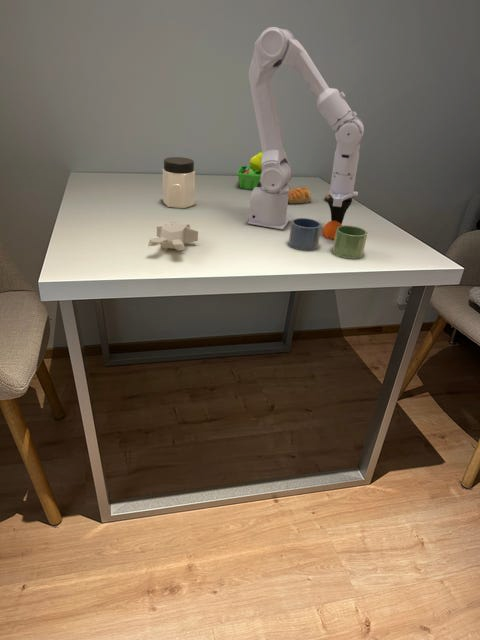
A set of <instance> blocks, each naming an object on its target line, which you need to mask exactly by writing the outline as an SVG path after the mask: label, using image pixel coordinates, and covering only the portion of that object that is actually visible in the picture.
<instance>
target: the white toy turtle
mask: <svg viewBox="0 0 480 640" xmlns="http://www.w3.org/2000/svg"><path fill="white" fill-rule="evenodd" d="M198 240H199V231H198V230H195V229H193V228H191V226H190V224H189V223H180V222H174V221H173V222H172V221H170V224H164V225H161V226H157V227H156V237H154V238H151V239H149V241H148V243H147V246H148V247H156V246H158V245H160V247H161V248H163V250H165V251H168V250H169V249H171V250H172V249H173V250H175V251H176V252H180V251H184V250H186V247H185V245H187V244H191V243H195V242H198Z"/></svg>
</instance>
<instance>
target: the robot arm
mask: <svg viewBox="0 0 480 640" xmlns="http://www.w3.org/2000/svg"><path fill="white" fill-rule="evenodd" d="M281 65H285V66H288V67H289V68H290V67H291V68H293V69H295V70H296V71H297V73H298V74H299V76H301V78H302V80H303V81H304V82H305V84H306V85H307V86H308V87H309V89H310V90H311V91H312V93H313V94H314V96H315V97H316V99H317V100H316V108H317V110H318V112H319V113H320V114H321V115H322V117H323V118H324V120H325V122H326V123H327V125H328V126H329V127H330V129H331V130H333V131H334V132H335V133H334V136H335V140H336V147H335V151H334V157H333V164H332V171H331V179H330V185H329V188H328V195H329V194H330V195H331V197H330V198H329V199H328V201H327V204H328V207H329V210H330V211H329V212H330V221H338V222H339V223H341V225H343V221H344V218H345V215H346V213H347V210H348V209H349V207H350V206H351V204H352V202H353V198H352V197H358V195H359V191H355V184H356V179H357V178H356V177H357V171H358V165H359V161H360V149H361V140H362V138H363V136H364V133H365V132H364V131H365V126H364V124H363V121H362V119H361V118H359V117H358V116H357V115H358V113H357V112H356V111H353V110H352V109H351V107H350V106H349V104H348V102H347V101H346V99H345V98H346V94H345V93H344V91H339V90H338V88H332V87H329V85H328V83H327V82H326V81H325V79H324V78H323V76H322V74H321V72H320V71H319V69H318V67H317V66H316V64H315V63H314V61H313V59H311V57H310V55H309V54H308V52H307V51H306V49H305V47H304V46H303V45H302V44H301V43H300V41H299V40H298V39H296V38H295V36H294V34H293V33H292V31H290V30H289V29H286V28H279V27H277V26H270V27H267V28H266V29H264V30H263V31H262V32H261V33H260V36H259V37H258V38H257V39H256V41H255V43H254V51H253V55H252V58H251V62H250V65H249V69H248V73H247V74H248V81H249V88H250V92H251V97H252V103H253V108H254V109H253V110H254V114H255V119H256V125H257V131H258V136H259V141H260V146H261V151H262V152H263V154H262V160H261V167H262V172H261V176H260V181H259V182H260V184H261V186H259V187H258V186H257V187H255V188H254V189H252V192H251V197H250V202H249V203H250V205H249V213H248V214H249V216H248V221H247V224H248V225H253V226H259V227H265V228H270V229H277V230H284V229H285V227H286V226H287V225H288V223H289V222H290V219H289V218H287V212H288V205H289V203H288V197H289V191H290V187H289V184H288V183H289V182H290V181H291V180H292V179H293V174H294V170H293V166H292V164H290V162H289V160H288V155H287V153H286V150H285V149H284V147H283V141H282V135H281V134H282V133H281V129H280V124H279V117H278V111H277V110H278V109H277V105H276V99H275V94H274V87H273V81H272V78H273V77H274V76H275V74H276V72H277V70H278V69H279V68H280V66H281Z"/></svg>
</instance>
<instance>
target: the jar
mask: <svg viewBox="0 0 480 640" xmlns="http://www.w3.org/2000/svg"><path fill="white" fill-rule="evenodd" d="M194 169H195V161H194V159H191V158H188V157H181V156H171V157H166V158H164V159H163V168H162V203H163V204H165V205H166V207H168V208H175V209H186V208H191V207H193V206H195V200H196V199H195V196H196V171H195V170H194Z"/></svg>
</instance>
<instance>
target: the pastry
mask: <svg viewBox="0 0 480 640" xmlns="http://www.w3.org/2000/svg"><path fill="white" fill-rule="evenodd" d="M310 201H312V195H311V192H310V189H308V188H307V187H296V188H291V189H289V197H288V204H290V205H294V204H297V205H298V204H307V203H310Z"/></svg>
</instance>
